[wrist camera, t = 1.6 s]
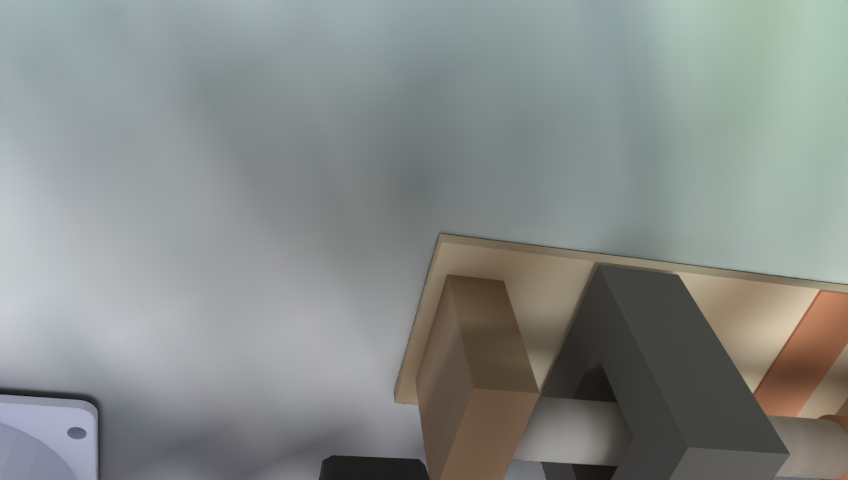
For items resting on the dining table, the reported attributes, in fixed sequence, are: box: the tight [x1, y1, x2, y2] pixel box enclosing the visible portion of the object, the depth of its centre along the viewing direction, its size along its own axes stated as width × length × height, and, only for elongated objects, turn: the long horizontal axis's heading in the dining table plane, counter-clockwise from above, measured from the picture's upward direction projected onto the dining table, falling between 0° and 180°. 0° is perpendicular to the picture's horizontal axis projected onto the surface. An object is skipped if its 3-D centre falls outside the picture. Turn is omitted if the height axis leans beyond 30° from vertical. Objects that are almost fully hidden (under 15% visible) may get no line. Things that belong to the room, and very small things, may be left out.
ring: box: [541, 265, 790, 480], centre depth 20 cm, size 2×6×6 cm, turn 167°
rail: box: [394, 234, 848, 480], centre depth 22 cm, size 17×6×5 cm, turn 77°
